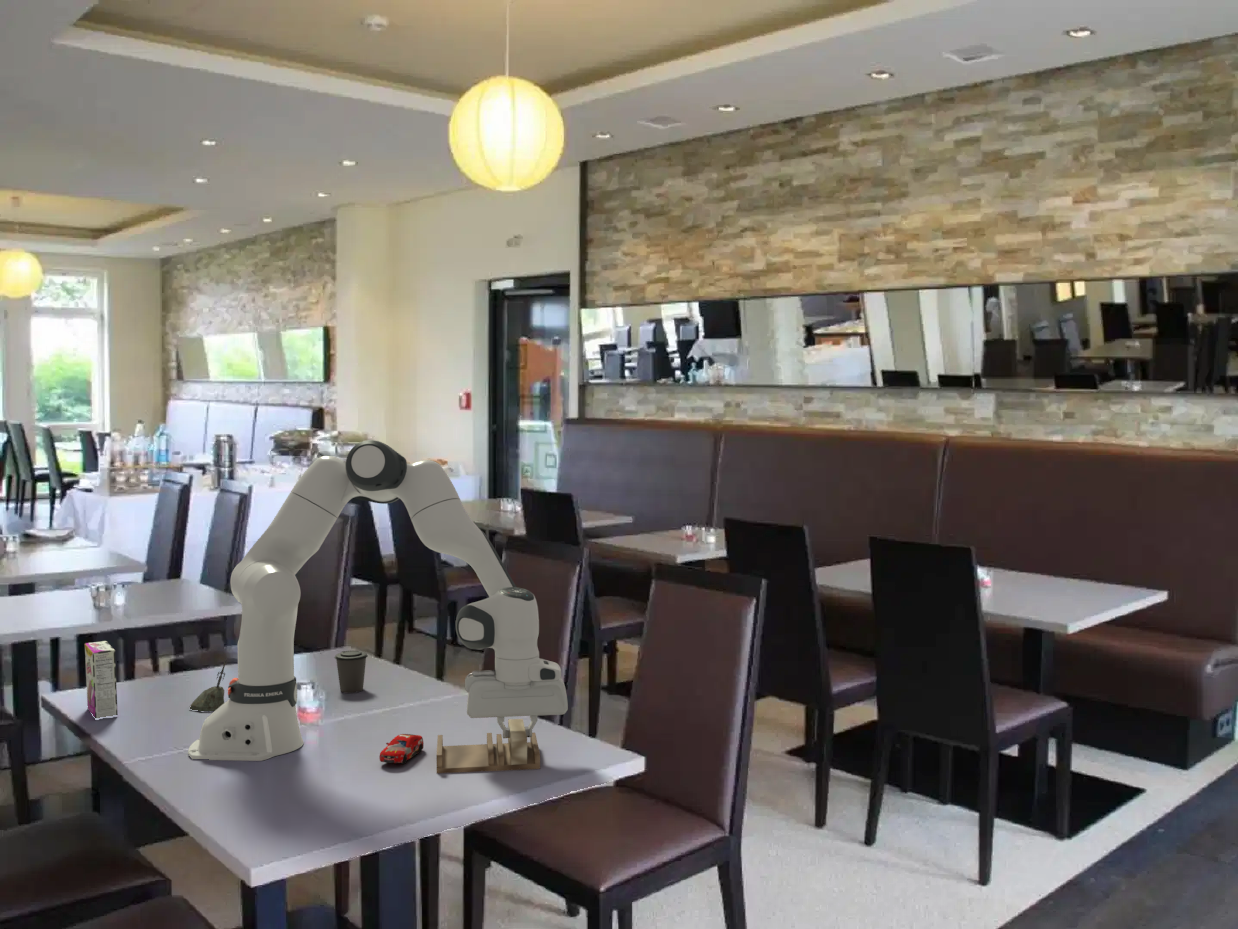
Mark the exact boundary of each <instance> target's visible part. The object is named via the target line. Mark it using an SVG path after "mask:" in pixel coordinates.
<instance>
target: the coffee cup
mask: <svg viewBox="0 0 1238 929" xmlns="http://www.w3.org/2000/svg"><path fill="white" fill-rule="evenodd" d="M368 657H369V655H368V653H367V652H366V651H360V650H346V651H344V650H343V651H341V652H340V653H337V654H335V656H334V659H335V660H336V661H335V662H336V668H337V674H338V675H337V676H338V683H339V690H340V692H341V693H346V694H353V693H359V692H362V691H363V690H364V683H365V675H366V674H365V672H366V663H367V658H368Z"/></svg>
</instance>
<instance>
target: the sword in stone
mask: <svg viewBox="0 0 1238 929" xmlns="http://www.w3.org/2000/svg"><path fill="white" fill-rule="evenodd" d="M227 661H228V658H227V657H226V658H224V661H223V665H222V669H221V670H220V671H218V672H217V675H216V676H217V677H216V679H217V684H216V686H211V687H209V688H207V689H205V690H202V692H201V693H200V694H199V695H198V696H197V697H196V698H195V699H193V700H194V701H192V703H191V704H190V706H191V707H190V706H189V707H190V709H192V710H198V711H215V710H217V709H218V708H219V707H220V706H221V705H223V704H224V703H225V698H224V697H225V689H224V687H223V686H220V683H221V680H222V682H223V680H224V679H225V676H226V673H225V672H224V670H225V667H226V663H227ZM222 675H223V676H222Z"/></svg>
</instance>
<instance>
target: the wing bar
mask: <svg viewBox="0 0 1238 929" xmlns="http://www.w3.org/2000/svg"><path fill="white" fill-rule="evenodd" d="M507 723H508V724H507V727H510V738H507V743H508V745H509V752H510V758H511V764H512V765H520V764H527V742H528V737H527V736H526V731H525V728H524V727H525V722H524V719H523V718H512V719H511V718H510V719H508V720H507Z"/></svg>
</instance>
